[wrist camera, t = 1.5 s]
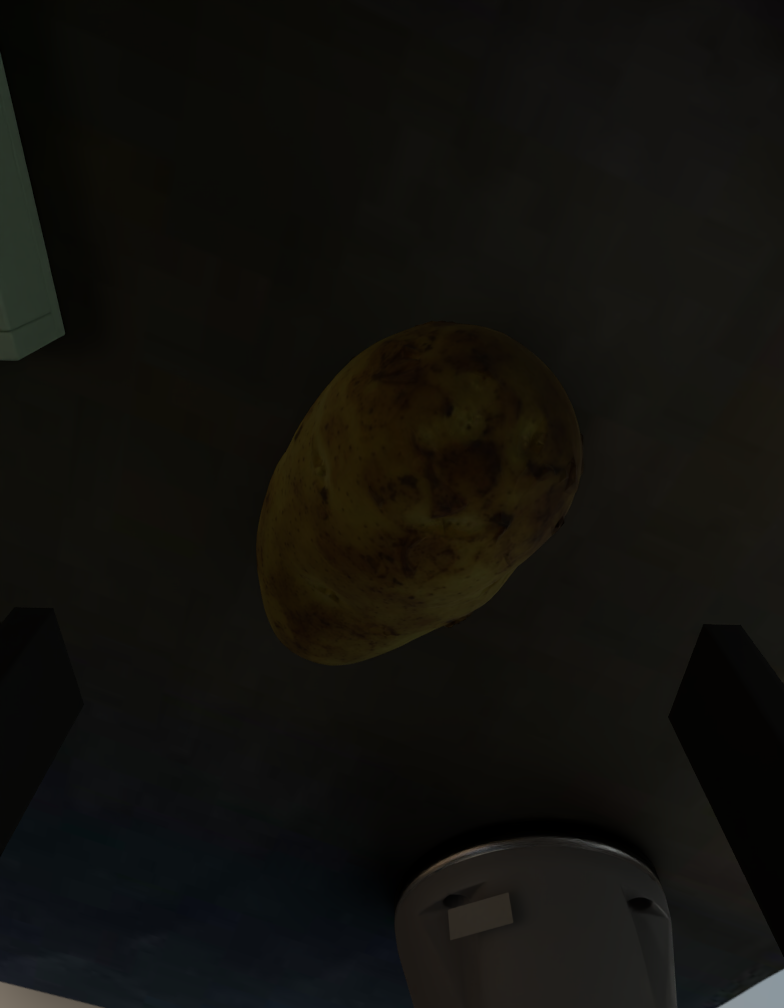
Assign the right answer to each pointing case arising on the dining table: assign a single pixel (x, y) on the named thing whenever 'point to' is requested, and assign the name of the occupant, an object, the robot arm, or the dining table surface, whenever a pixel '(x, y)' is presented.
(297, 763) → the dining table surface
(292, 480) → the potato
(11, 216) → the tray
